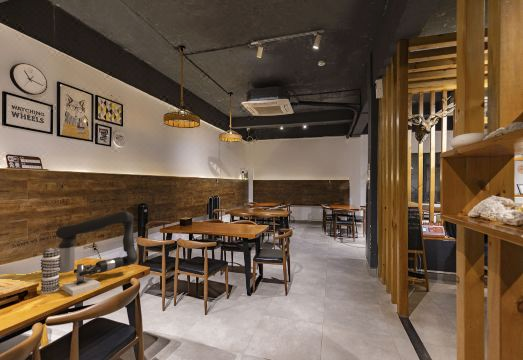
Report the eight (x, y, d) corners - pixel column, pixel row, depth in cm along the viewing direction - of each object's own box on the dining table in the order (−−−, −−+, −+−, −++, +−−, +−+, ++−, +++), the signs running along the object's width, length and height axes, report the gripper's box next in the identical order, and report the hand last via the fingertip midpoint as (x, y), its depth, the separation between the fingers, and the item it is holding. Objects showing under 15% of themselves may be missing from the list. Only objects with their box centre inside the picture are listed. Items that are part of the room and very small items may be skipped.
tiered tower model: (59, 291, 144) (59, 249, 145) (38, 295, 139) (39, 251, 140) (61, 286, 152) (62, 245, 152) (42, 289, 147) (42, 247, 148)
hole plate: (62, 289, 147) (62, 284, 147) (88, 281, 159) (88, 277, 159) (72, 296, 138) (72, 290, 138) (100, 287, 150) (100, 282, 150)
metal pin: (75, 287, 149) (75, 265, 149) (82, 285, 152) (82, 263, 152) (77, 289, 147) (78, 266, 148) (84, 287, 150) (84, 264, 150)
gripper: (100, 258, 166) (72, 264, 152) (110, 261, 158) (81, 269, 144) (100, 269, 166) (71, 276, 152) (110, 273, 158) (81, 281, 144)
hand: (76, 273), depth 148 cm, fingers open, 8 cm apart
